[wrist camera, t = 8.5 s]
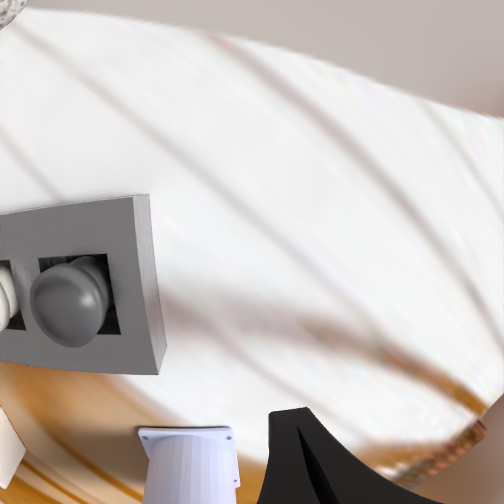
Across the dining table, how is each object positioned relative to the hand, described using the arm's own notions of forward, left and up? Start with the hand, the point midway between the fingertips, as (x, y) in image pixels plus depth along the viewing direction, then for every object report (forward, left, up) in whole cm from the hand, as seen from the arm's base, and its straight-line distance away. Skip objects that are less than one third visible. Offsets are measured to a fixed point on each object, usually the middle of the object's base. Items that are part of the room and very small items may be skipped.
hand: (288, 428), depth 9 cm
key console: (+3, +17, -10) cm, 20 cm away
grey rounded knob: (+3, +10, -9) cm, 14 cm away
